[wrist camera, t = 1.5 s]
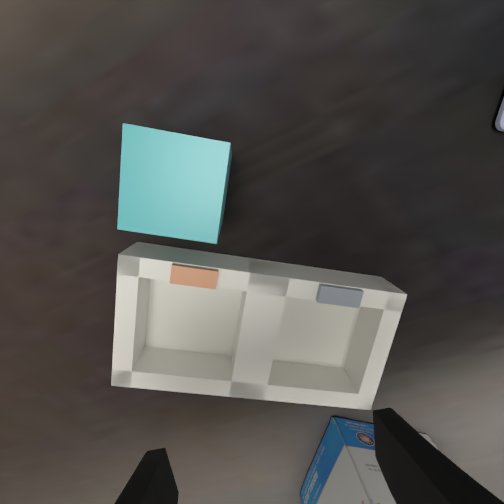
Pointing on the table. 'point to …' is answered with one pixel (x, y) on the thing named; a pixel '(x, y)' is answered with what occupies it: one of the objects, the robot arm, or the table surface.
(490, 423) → the table surface
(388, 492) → the ink box
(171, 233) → the teal rectangular block
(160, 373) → the white divided tray
